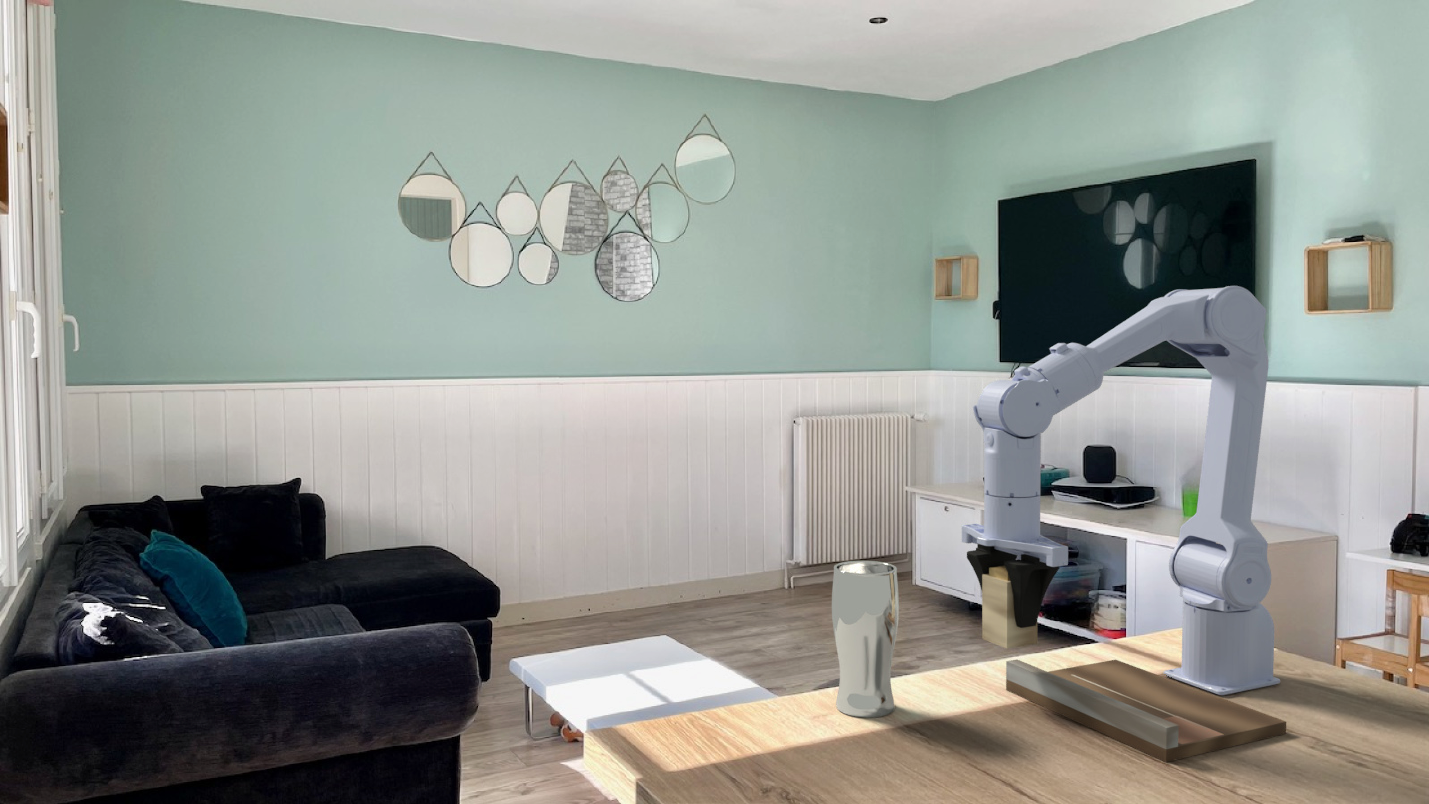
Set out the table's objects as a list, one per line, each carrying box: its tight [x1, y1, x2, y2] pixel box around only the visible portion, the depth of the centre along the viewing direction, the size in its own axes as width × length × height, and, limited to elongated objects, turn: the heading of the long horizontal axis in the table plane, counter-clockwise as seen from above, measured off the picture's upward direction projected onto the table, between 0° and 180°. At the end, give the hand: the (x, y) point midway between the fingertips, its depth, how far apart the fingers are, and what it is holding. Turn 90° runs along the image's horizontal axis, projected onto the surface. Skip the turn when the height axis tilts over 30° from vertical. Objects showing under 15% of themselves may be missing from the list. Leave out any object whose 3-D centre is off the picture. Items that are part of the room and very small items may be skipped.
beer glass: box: [831, 560, 900, 719], centre depth 111 cm, size 7×7×15 cm
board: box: [1005, 659, 1287, 763], centre depth 110 cm, size 16×22×3 cm
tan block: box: [981, 566, 1038, 650], centre depth 112 cm, size 4×4×8 cm
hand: (1011, 620), depth 112 cm, fingers closed on tan block, 4 cm apart
